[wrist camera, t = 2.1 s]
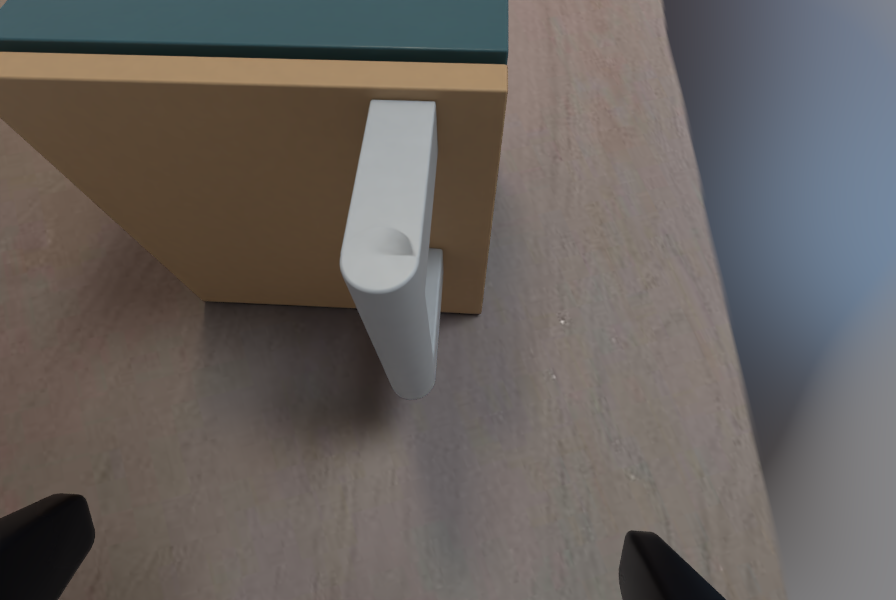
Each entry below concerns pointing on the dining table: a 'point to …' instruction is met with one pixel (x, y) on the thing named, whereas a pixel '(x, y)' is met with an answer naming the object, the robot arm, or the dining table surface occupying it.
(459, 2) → the fridge
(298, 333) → the dining table surface
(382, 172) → the fridge door
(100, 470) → the dining table surface
